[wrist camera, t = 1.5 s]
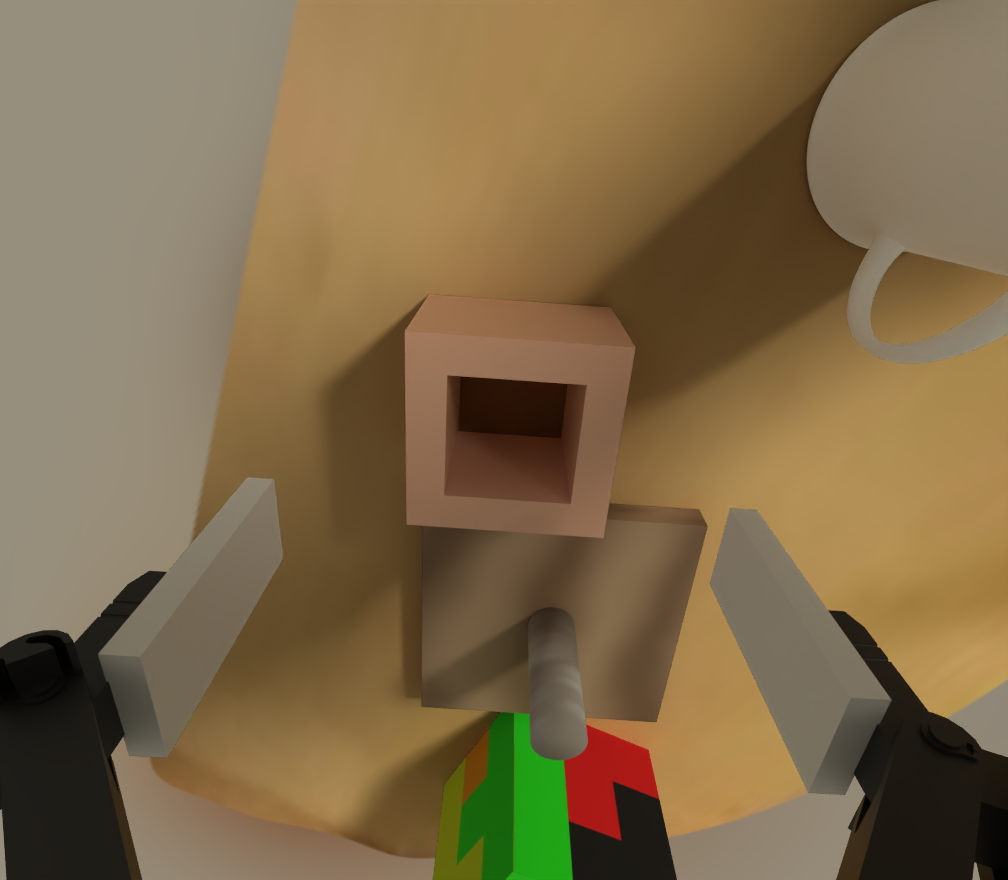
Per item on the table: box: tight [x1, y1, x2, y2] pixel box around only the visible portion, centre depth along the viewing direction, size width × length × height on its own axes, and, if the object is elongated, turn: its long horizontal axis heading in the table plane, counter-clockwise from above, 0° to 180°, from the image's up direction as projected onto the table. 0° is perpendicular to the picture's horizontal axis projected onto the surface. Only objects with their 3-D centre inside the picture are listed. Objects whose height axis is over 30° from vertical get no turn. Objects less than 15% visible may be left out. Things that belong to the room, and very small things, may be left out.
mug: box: [807, 0, 1008, 364], centre depth 18 cm, size 12×8×12 cm
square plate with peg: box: [422, 504, 708, 760], centre depth 29 cm, size 14×14×8 cm
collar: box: [405, 294, 636, 538], centre depth 25 cm, size 8×8×6 cm
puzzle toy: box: [433, 712, 677, 880], centre depth 35 cm, size 10×10×10 cm
